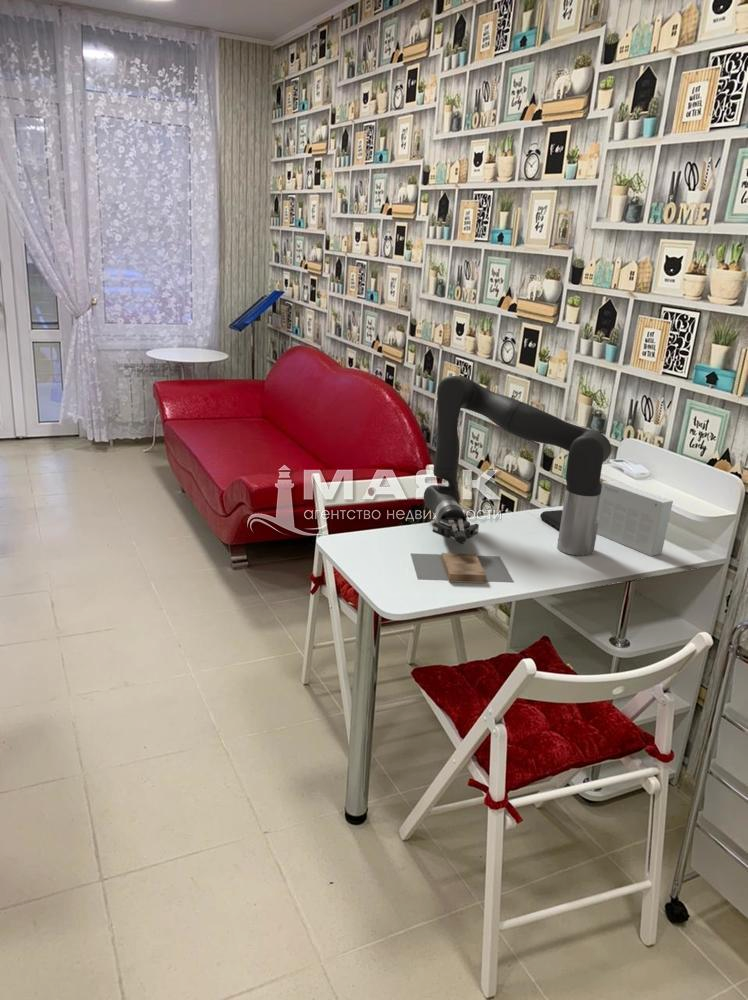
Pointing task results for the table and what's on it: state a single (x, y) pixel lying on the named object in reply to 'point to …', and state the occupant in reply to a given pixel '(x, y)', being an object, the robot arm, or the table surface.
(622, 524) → the skincare box
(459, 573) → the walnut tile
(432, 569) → the charcoal mat
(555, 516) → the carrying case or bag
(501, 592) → the table surface
